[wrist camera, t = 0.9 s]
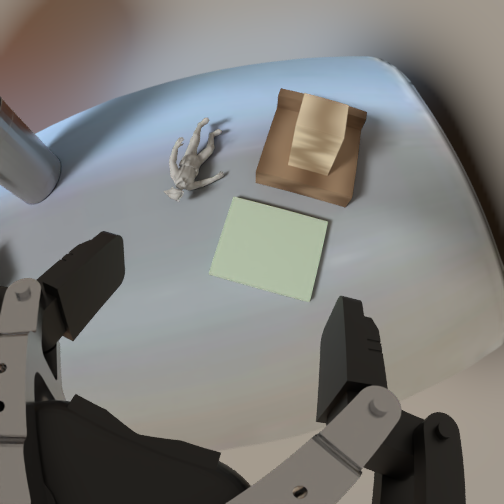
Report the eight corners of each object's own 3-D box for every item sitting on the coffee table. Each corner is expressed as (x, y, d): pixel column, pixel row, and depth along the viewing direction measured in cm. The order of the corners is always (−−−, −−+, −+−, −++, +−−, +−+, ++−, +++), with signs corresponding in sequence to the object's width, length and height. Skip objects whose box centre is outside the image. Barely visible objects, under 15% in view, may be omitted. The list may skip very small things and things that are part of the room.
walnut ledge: (255, 182, 38) (256, 160, 33) (278, 113, 41) (280, 88, 36) (345, 207, 37) (358, 188, 32) (355, 134, 40) (366, 112, 35)
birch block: (288, 165, 36) (295, 125, 28) (296, 134, 37) (304, 93, 29) (327, 175, 35) (343, 138, 28) (333, 144, 36) (348, 105, 29)
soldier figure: (237, 143, 41) (218, 205, 35) (214, 158, 44) (192, 219, 38) (198, 108, 37) (167, 164, 30) (176, 126, 40) (144, 183, 33)
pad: (209, 274, 35) (208, 273, 35) (234, 199, 38) (233, 196, 37) (308, 302, 34) (309, 301, 34) (326, 224, 37) (327, 221, 36)
